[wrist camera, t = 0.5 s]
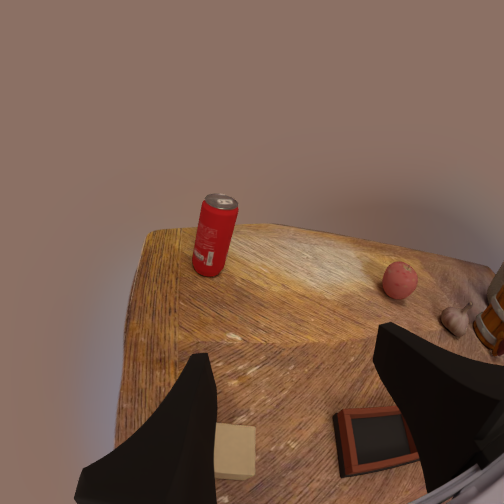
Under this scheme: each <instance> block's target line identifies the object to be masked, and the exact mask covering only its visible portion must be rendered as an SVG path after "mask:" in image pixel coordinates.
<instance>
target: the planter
mask: <svg viewBox="0 0 504 504" xmlns="http://www.w3.org/2000/svg"><path fill="white" fill-rule="evenodd" d="M502 285H504V262H503V264H502V265H501V267H500V269H499V271H498V272H497V274H496V275H495V277H494V278H493V280H492V282H491V283H490V285H489V287H488V291H487V300H488V303H489V304H490V303H491V298H492V297H493V296H494V295H495V294H497V293H498V292H499V291H500V289H501V287H502Z"/></svg>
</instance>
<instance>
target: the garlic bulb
mask: <svg viewBox="0 0 504 504" xmlns="http://www.w3.org/2000/svg"><path fill="white" fill-rule="evenodd" d="M471 306H472V302H469V303H468V305H466V306H465V307H464V308H463V309H459V308H453V307H448V308H446V309H444V310H443V312H442V314H441V318H442V319H441V321H442V323H443V325H444V326H445V327H446V328H448V329H449V330H450V331H451V332H452V333H453V334H454V335H455V336H458V337H461V336H463V335H464V334H465V332H466V329H467V327H468V324H469V319H468V315H467V313H466V312H467V311H468V309H469V308H470V307H471Z"/></svg>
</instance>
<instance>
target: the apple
mask: <svg viewBox="0 0 504 504" xmlns="http://www.w3.org/2000/svg"><path fill="white" fill-rule="evenodd" d="M417 283H418V277H417V274H416V272H415V271H414V269H413V268H412V267H411V266H410V265H408V264H406V263H404V262H394V263H392V264H390V265H389V266H388V267H387V269H386V271H385V273H384V276H383V280H382V284H383V288H384V291H385V292H386V294H387V295H388V296H390V297H391V298H393V299H403V298H406V297H408V296H409V295H410V294H411V293H412V292H413V291H414V290H415V289H416V286H417Z"/></svg>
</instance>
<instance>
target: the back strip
mask: <svg viewBox="0 0 504 504" xmlns="http://www.w3.org/2000/svg"><path fill="white" fill-rule="evenodd" d="M333 422H334V429H335V436H336V443H337V451H338V459H339V467H340V476H341V478H345V477H351V476H357V475H363V474H368V473H373V472H378V471H382V470H387V469H391V468H395V467H399V466H402V465H406V464H409V463H413V462H416V461H419V460H420V459H419V455H418V452H417V449H416V446H415V443H414V441H413V438H412V435H411V433H410V430H409V428H408V426H407V423H406V421H405V419H404V417H403V415H402V413H401V412H400V410H399V408H398V407H397V406H387V407H374V408H354V409H342V410H341V411H340V412H339V413H336V414H334V415H333Z"/></svg>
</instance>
